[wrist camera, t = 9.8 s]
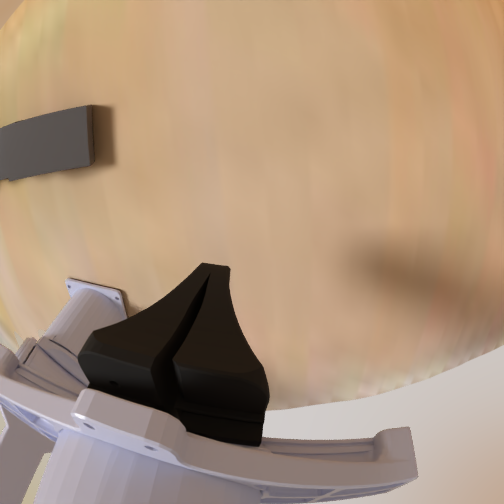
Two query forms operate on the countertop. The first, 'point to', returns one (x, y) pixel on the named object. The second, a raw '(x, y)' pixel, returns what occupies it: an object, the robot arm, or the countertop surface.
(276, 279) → the countertop surface
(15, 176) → the domino
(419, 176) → the countertop surface
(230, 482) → the robot arm
